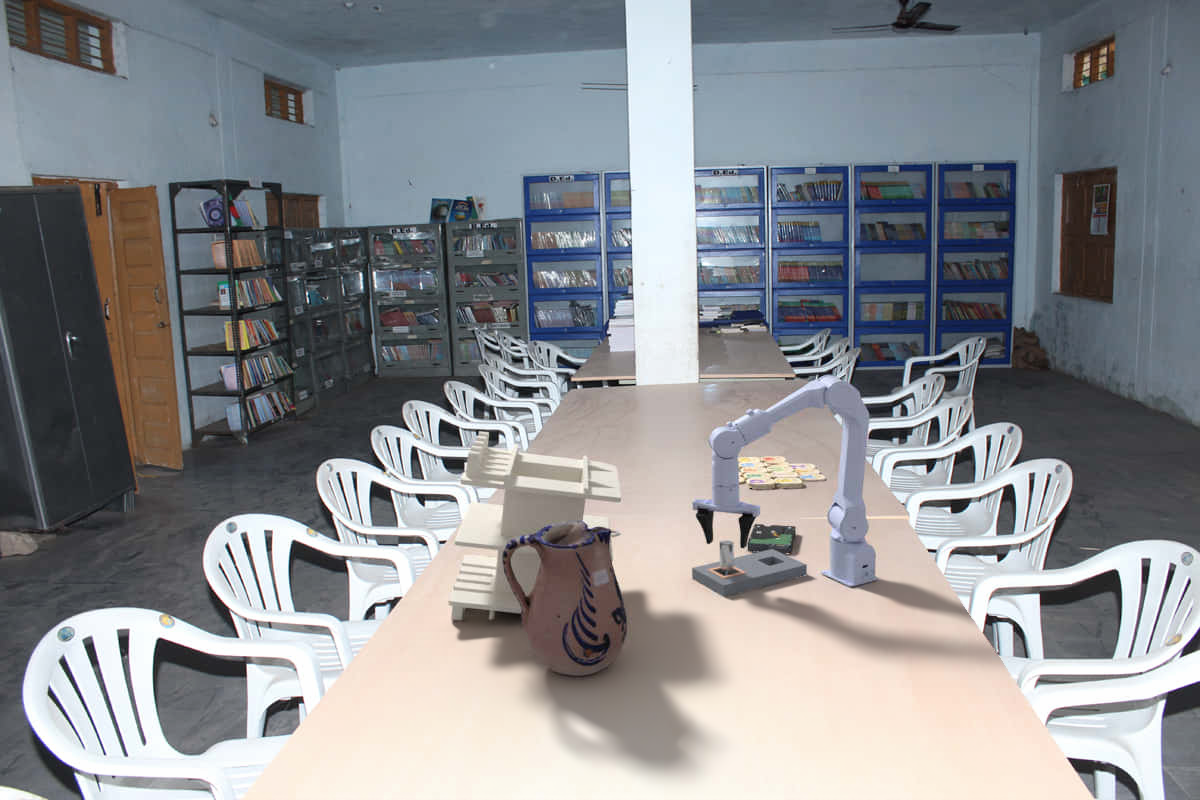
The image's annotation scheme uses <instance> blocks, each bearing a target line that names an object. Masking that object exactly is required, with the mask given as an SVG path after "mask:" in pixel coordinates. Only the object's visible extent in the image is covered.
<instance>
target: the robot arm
mask: <svg viewBox="0 0 1200 800" xmlns="http://www.w3.org/2000/svg"><path fill="white" fill-rule="evenodd" d="M825 405H826V406H828V407H829V408H830V409H831V410H833V411H834V412H835V413H836V414H837V415H838V416H839V417H840V418H841V419H842V421H843V424H842V425H843V426H842V434H841V435H842V436H841V437H842V438H841V445H840V446H841V447H840V457H839V458H840V459H839V469H838V480H837V491H836V492H835V493H834V495H833V497H832V504H831V506H830V507H829V508H828V511H827V512H826V513H827V514H826V518H827V521H828V524H829V525H831V527H832V528H831V531H830V535H829V540H830V541H829V543H830V544H829V569H826V570H825V569H824V570H821V573H820V574H822V575H823V576H826V577H828V578H830V579H832V580H835V581H836V582H839V583H841V584H843V585H846V586H848V587H849V588H850V587H852V588H853V587H856V586H860V585H864V584H868V583H870V582H873V581H874V582H875V581H878V580H879V577H878V576H876V563H877V561H876V557H877V556H876V550H875V548H874V547H873V546H872V545H871V544H870V543H869V542H868V541H867V540H866V538H865V537H866V536H867V534H868V531H869V526H870V525H869V522H868V519H867V517H866V516H867V515H866V509H867V507H866V505H865V500H864V498H863V489H864V482H865V481H864V479H865V469H866V459H867V457H866V456H867V447H868V436H869V429H870V428H869V427H870V412H869V410H868V408H867V407H866V405H865V402H864V401H863V398H862V397H861V393H860V391H859V390H858V388H856V387H854V386H853V385H852V384H851V383H850V382H848V381H845V380H842V379H840V378H839V377H837V376H835V374H825V375H823V376H820V377H819V378H818V379H814V380H811V381H809V382H808V383H806V384H805V385H803V386H802V387H801V388H799V389H797V390H796V391H794V392H793V393H791V394H790V395H788V396H786V397H785V398H782V399H781V400H779V401H778V402H776V403H775V404H773V405H772V406H770V407H768V408H767V409H761V408H755V409H752V408H749V409H748V410H746V411H745V413H746V414H745V415H743V416H740V417H739V418H737V419H736V420H734V421H732V422H731V421H728V422H726V426H719V427H716V428H715V429H713V430H712V432H711V434H710V435H709V439H708V444H709V447H710V448H711V449H712V451H711V460H712V461H711V489H712V491H711V495H712V499H699V498H698V499H697V498H695V499H694V500H693V501H692V510H693V511H697V512H696V513H695V517H696V520H697V521H698V523H699V525H700V526H701V528H702V531H703V534H704V537H705V541H706V544H707V545H710V544H712V543H713V542H714V527H713V526H714V514H715V512H718V513H726V514H738V515H741V516H740V517H738V521H737V522H738V524H739V532H740V533H739V534H740V538H739V540H740V541H739V544H740V545H739V546H740V549H745V548H746V547H747V545H748V540H749V537H750V533H751V532H750V531H751V529H752V526H753V524H754V522H755V519H756V518H758V517H759V516H761V505H758V504H756V505H755V504H753V503H752V504H751V503H747V502H745V501H744V502H742V501H740V484H739V472H740V471H739V463H738V458H739V454H740V452H741V450H742V448H743V447H746V446H748V445H750V444H751V443H754V442H756V441H758V439H760V438H762V437H764V436H766V435H768V434H770V433H771V431H772V429H773V426H774V424H776V423H778V422H780V421H783V420H784V419H785V418H789V417H790V416H792V415H794V414H796V413H797V412H800V411H802V410H804V409H806V408H815V409H825Z"/></svg>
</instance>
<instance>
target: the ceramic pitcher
mask: <svg viewBox="0 0 1200 800" xmlns="http://www.w3.org/2000/svg"><path fill="white" fill-rule="evenodd" d="M611 531H612V530H611V528H610V529H609V528H605V527H594V528H592V529H588V525H587V524H586V523H584V522H583V521H573V520H572V521H566V522H562V523H556V524H550V525H548V526H545V527H543V528H541V529H540V530H539V531H538V532H537V533H535V534H531V535H527V534H526V535H521V536H517V537H515V538H514V539H512V540H510V541H509V542H508V543H507V545H506V547H505V549H504V551H503V555H502V557H503V560H502V561H503V568H504V572H505V575H506V578H507V580H508V582H509V584H510V587H511V589H512V591H513V593H514V595H515V597H516V598H517V600H518V602H519V604H520V606H521V613H520V615H521V616H520V622H521V625H522V626H523V628H524V629H525V631H526V632H527V636H528V637H527V638H528V640H529V643H530V646H531V648H532V650H533V652H534V654H535V656H536V657H537V658H538V660H539V661H540V662H541V663H542V664H543V665H544V666H545V667H547V668H548V669H550V670H552V672H553V671H554V672H555V673H556V672H557V673H558V674H562V675H565V676H566V675H567V676H573V677H575V676H576V677H582V676H589V675H592V674H596V673H597V672H600V671H602V670H603V669H605V668H606V667H607V666H609V665H610V664H611V663H612V662H613V661H615V660H616V658H617V656H618V655H619V653H620V652H621V650H622V649H623V646H624V644H625V641H626V638H627V631H628V625H627V624H628V622H627V612H626V607H625V603H624V599H623V596H622V595H623V594H622V592H621V588H620V585H619V582H618V580H617V576H616V572H615V568H614V565H613V561H611V555H610V547H609V543H610V535H611V534H612V532H611ZM527 545H528V546H531V547H533V548H535V549H536V551H537V553H538V554H539V557H540V558H541V563H540V567H539V571H538V573H537V577H536V581H535V584H534V587H533V589H532V591H531V592H530V594H529V596H525V593H524V591H523V590H522V587H521V586H520V584H519V583H518V581H517V579H516V577H515V574H514V572H513V570H512V566H511V560H510V559H511V557H512V554H513V553H514V551H515V550H516V549H518V548H520V547H522V546H527Z"/></svg>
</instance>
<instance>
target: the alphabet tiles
mask: <svg viewBox="0 0 1200 800" xmlns="http://www.w3.org/2000/svg"><path fill="white" fill-rule="evenodd" d="M738 463H739V483H743V484H745V485H747V486H746V488H747V487H748V488H752V489H751V490H753V489H762V490H773V489H772V488H774V489H775V487H777V488H776V489H778V488H779V489H781V488H782V489H781V490H784V489H783V488H791V489H801V488H803V487H804V485H803V484H804V483H803V482H805V483H809V482H823V481H824V482H825V481H826V477H825V476H824V475H823V474H821V471H820V470H819V469H818V468H817V467H816V466H815V465H814V464H813V463H789V462H788V461H787V459H786V457H785V456H780V455H779V456H776V455H775V456H762V457H757V456H747V457H739V456H738ZM742 476H743V477H742ZM744 482H746V483H744ZM748 488H747V489H748Z"/></svg>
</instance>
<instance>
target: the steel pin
mask: <svg viewBox="0 0 1200 800" xmlns="http://www.w3.org/2000/svg"><path fill="white" fill-rule="evenodd" d="M734 547H735V545H734V542H733V541H731V540H721V541H720V542H719V561H720V574H721V575H723V576H727V575H731V574H734V558H735V556H734V555H735V554H734V553H735V552H734V549H735V548H734Z"/></svg>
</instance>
